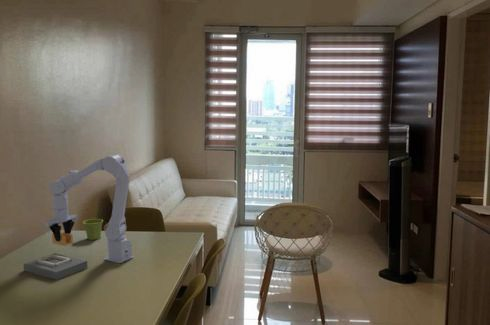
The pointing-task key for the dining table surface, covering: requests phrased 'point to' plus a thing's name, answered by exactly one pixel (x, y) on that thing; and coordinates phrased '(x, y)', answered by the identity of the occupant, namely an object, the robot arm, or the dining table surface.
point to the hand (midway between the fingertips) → (62, 239)
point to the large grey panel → (55, 266)
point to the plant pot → (93, 228)
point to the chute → (63, 239)
